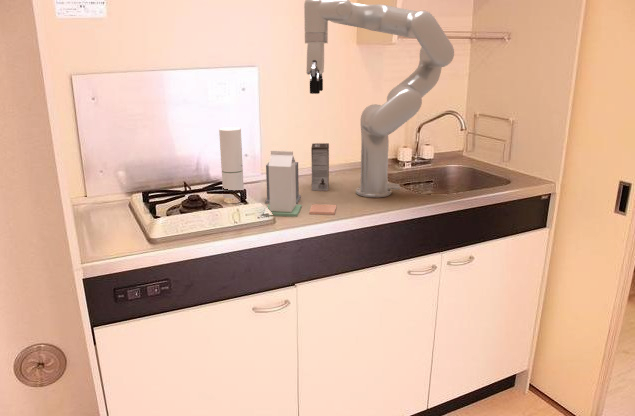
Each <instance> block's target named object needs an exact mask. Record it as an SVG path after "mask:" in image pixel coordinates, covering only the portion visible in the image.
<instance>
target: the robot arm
mask: <svg viewBox="0 0 635 416" xmlns="http://www.w3.org/2000/svg"><path fill="white" fill-rule="evenodd" d="M303 6H304V7H303V9H304V17H303V18H304V44H307V47H306V49H307V50H306V75H310V77H309V94H312V95H314V94H315V95H319V94H320V92H322V91H323V90H324V80H323V79H324V78H323V74H324V72H325V70H324V69H325V44H329V43H328V42H329V40H328V39H329V38H328V37H329V34H328V33H329V28H328V27H329V22H332V23H334V24H338V25H344V26H349V27H354V28H359V29H365V30H369V31H373V32H379V33H382V34H383V33H384V34H390V35H395V36H400V37H404V38H409V39H416V40H417V42H418V44H419V46H420V47H421V48H420V50H419V62H418V65H417V68H415V70H414V71H413V72H412V73H411V74H410V75H409V76H408V77H406V78H405V79H403V80H402V81H401V82H400V83H399V84H397V85H396V86H395V87H393V88H392V89H391V90H390V91H389V92H388V94H387V96H386V102H384V103H383V104H382V105H381V104H373V103H372V104H370V105H368V106H366V107H365V108H364V109H363V111H362V113H361V115H360V136H361V138H360V139H361V151H360V186H359V187H357V188H355V194H357V195H358V196H361V197H364V198H365V197H366V198H371V199H372V198H374V199H375V198H377V199H378V198H385V197H388V196H390V195H391V194H392V190H396V191H397V190H398V191H400V189H401V188H400V187H401V186H400V184H397V183H395V182H394V183H393V182H392V183H391V182H389V179H388V168H389V167H388V165H389V148H390V147H389V144H390V142H389V136H390V134H392V133H394V132H395V131H397V130H398V129H399V128H400V127H402V126H403V125H404V124H405V123H407V122H408V121H409V120H410V119H412V118H413V117H414V116H416V115H417V113H419V111H420V109H421V107H422V103H423V99H422V98H424V97H425V96H426V95H427V94H428V93H429V92H430V91H431V90H432V89H434V87H436V85H437V83H438V82H439V80H440V77H441V72H442V69H443V68H445V67H447V66H448V65H450V64H451V63H452V61H453V59H454V56H455V49H454V46H453V44H452V42H451V40H450V38H449V37H448V36H447V34H446V33H445V32H444V30H443V28H442V27H441V25H440V24H439V22H438V20H437V19H436V18H435V16H434V15H433V14H432V13H431V12H430V11H427V10H412V9H407V8H402V7H397V6H392V5H388V4H380V3H379V4H364V3H363V4H362V3H356V2H351V1H350V0H305V1H304V5H303ZM328 21H329V22H328Z"/></svg>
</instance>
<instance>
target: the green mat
mask: <svg viewBox="0 0 635 416" xmlns="http://www.w3.org/2000/svg"><path fill="white" fill-rule="evenodd" d="M267 207H268V209H269V210H270V203H268V205H267ZM267 207H266V208H267ZM302 207H303V206H302V204H296V206H295V208H294V209H293V211H292V212H277V211H271V212H272V214H273V215H275V216H274V217H292V218H293V217H296V218H297V217H298V216H299V214H300V212H301V209H302Z"/></svg>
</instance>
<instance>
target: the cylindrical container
mask: <svg viewBox="0 0 635 416" xmlns="http://www.w3.org/2000/svg"><path fill="white" fill-rule="evenodd" d="M218 132H219V145H220V146H219V149H220V150H219V151H220V163H221V164H220V165H221V166H220V167H221V180H222V181H221V183H222V189H223V188H224V189H228V190H244V191H245V188H244V187H245V185H244V169H243V167H244V166H243V147H242V146H243V145H242V128H241V127H237V126H227V127H226V126H225V127H221V128H219V129H218ZM223 197H225V198H234V195H230V194H226V195H223V194H222V198H223Z"/></svg>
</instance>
